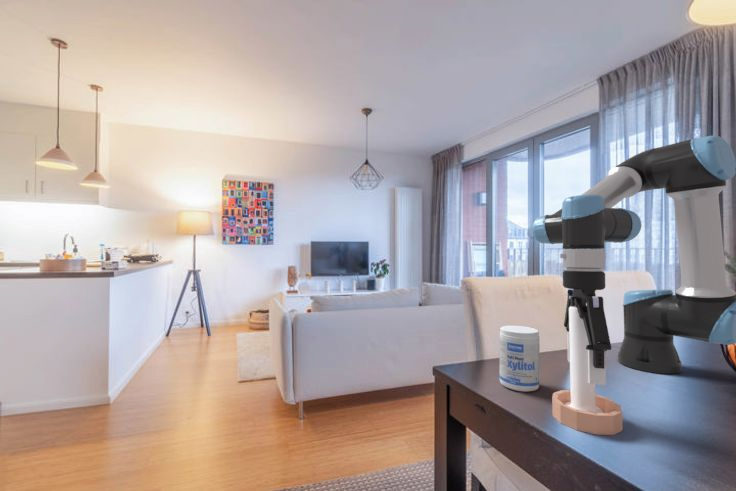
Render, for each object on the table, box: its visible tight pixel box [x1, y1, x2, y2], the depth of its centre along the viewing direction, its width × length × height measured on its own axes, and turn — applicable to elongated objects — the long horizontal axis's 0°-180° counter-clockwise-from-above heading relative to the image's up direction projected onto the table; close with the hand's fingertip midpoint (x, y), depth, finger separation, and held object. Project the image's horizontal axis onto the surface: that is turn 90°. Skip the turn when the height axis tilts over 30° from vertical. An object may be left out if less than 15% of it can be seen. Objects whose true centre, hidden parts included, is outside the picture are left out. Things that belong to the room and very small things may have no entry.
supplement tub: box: [498, 325, 540, 393], centre depth 89 cm, size 10×10×15 cm
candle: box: [565, 306, 603, 413], centre depth 73 cm, size 7×7×25 cm
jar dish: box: [551, 389, 624, 436], centre depth 71 cm, size 12×12×4 cm
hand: (584, 372), depth 71 cm, fingers open, 13 cm apart
